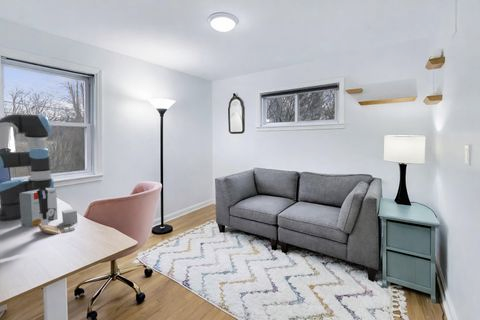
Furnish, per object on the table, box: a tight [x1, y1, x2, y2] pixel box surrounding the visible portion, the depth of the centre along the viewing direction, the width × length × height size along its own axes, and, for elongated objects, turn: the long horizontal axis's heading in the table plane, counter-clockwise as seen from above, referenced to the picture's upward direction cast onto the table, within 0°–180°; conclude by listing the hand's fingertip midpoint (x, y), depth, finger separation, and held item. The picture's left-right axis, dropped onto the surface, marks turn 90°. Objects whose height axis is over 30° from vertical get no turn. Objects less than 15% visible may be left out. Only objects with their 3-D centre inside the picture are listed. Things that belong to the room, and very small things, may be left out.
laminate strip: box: [56, 224, 73, 234], centre depth 130 cm, size 12×6×1 cm, turn 46°
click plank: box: [37, 223, 61, 235], centre depth 125 cm, size 12×8×1 cm, turn 46°
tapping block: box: [61, 208, 78, 225], centre depth 139 cm, size 6×6×8 cm
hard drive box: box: [19, 187, 59, 228], centre depth 139 cm, size 16×8×20 cm, turn 168°
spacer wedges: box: [64, 225, 76, 233], centre depth 127 cm, size 2×4×2 cm, turn 136°
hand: (44, 224), depth 122 cm, fingers closed
